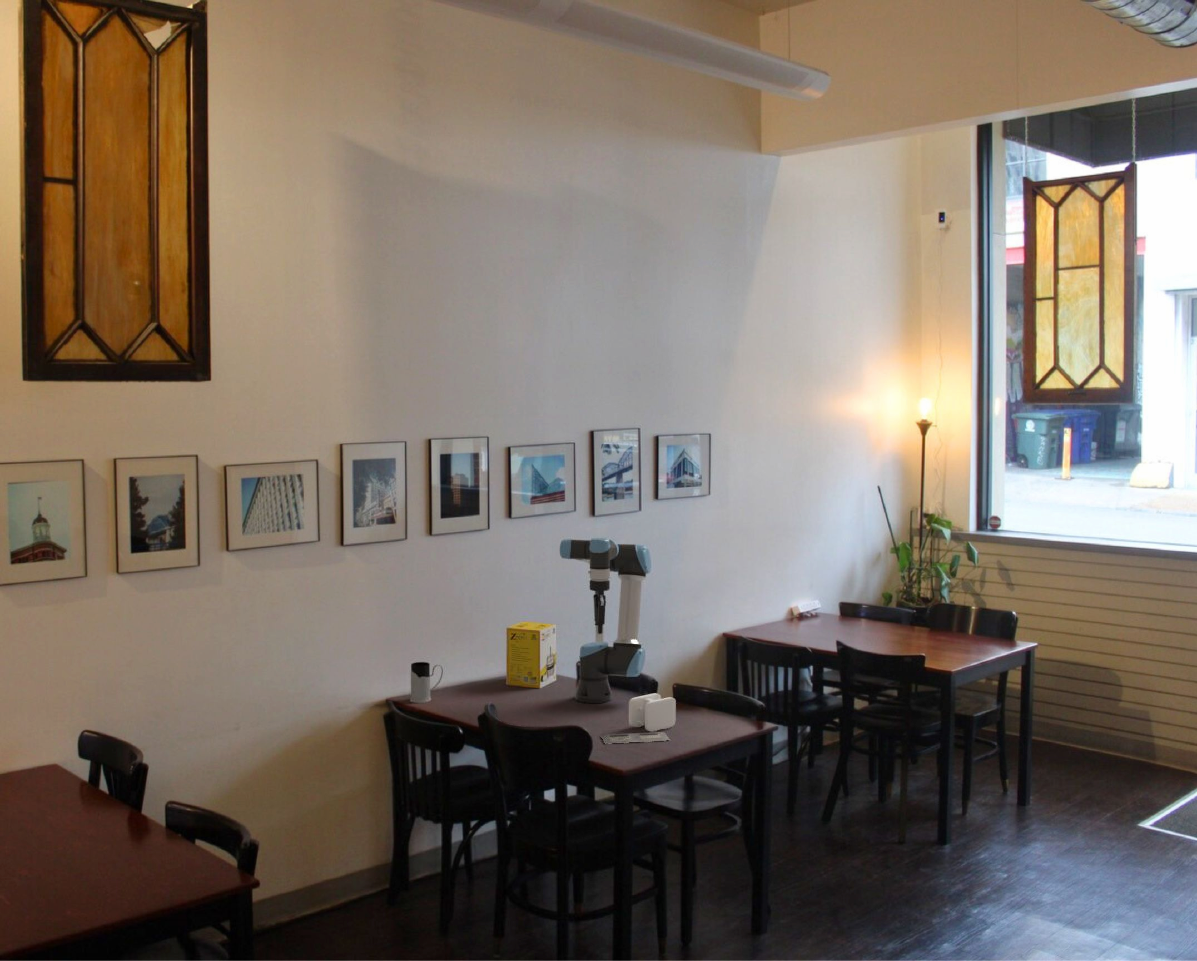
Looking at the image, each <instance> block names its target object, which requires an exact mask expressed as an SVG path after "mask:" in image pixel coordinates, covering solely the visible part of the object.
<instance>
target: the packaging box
mask: <svg viewBox="0 0 1197 961" xmlns="http://www.w3.org/2000/svg"><path fill="white" fill-rule="evenodd" d="M505 635H506V638H505V639H506V643H505V644H506V657H505V658H506V659H505V660H506V662H505V663H506V664H505V665H506V668H505V669H506V685H507V686H516V687H523V688H524V687H525V688H532V689H542V688H543V687H544V688H545V687H546V686H547V685H549V684H551V683H554V682H556V681H557V624H553V623H546V622H533V621H522V622H519V623H515V624H513V625H511V626H508V627H506V632H505Z"/></svg>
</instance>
